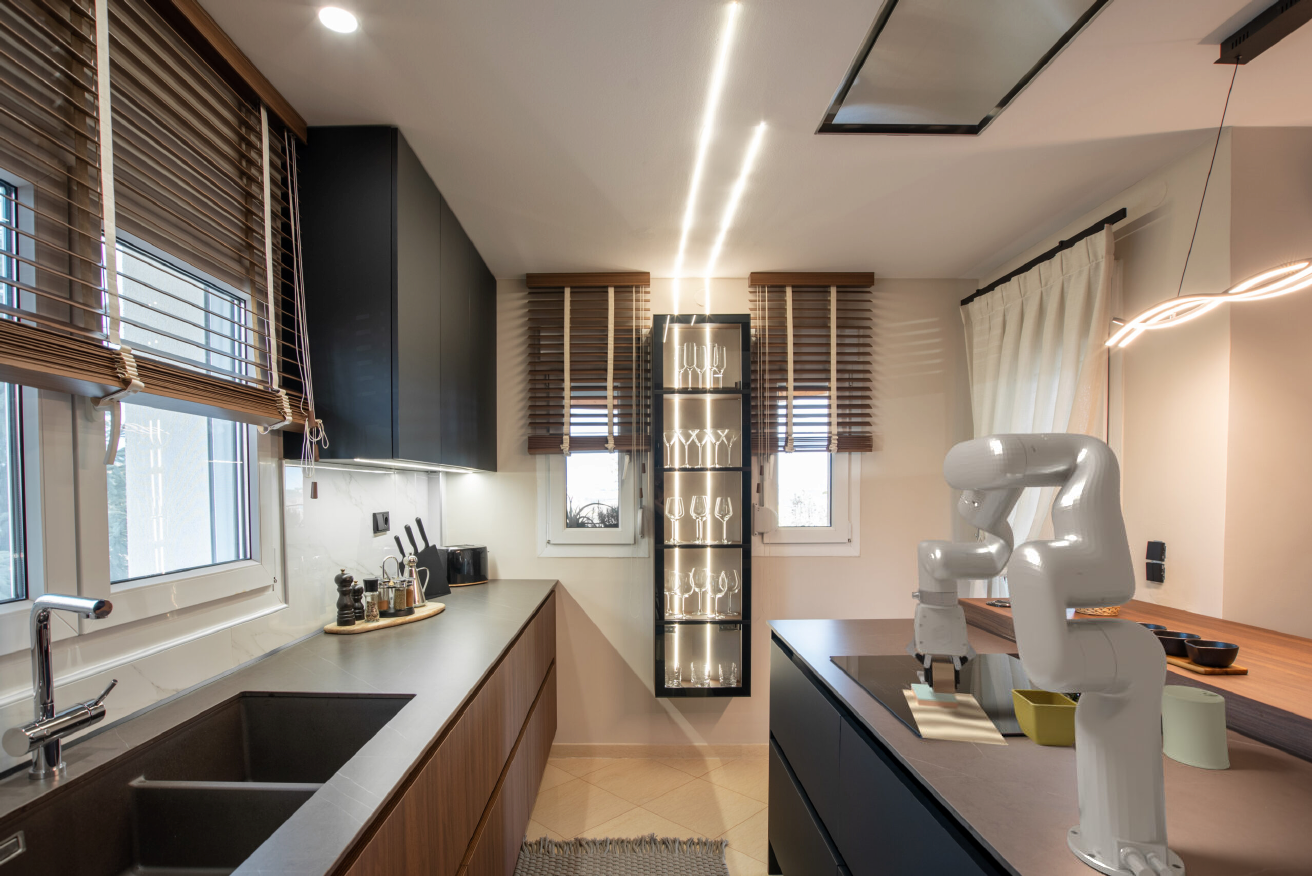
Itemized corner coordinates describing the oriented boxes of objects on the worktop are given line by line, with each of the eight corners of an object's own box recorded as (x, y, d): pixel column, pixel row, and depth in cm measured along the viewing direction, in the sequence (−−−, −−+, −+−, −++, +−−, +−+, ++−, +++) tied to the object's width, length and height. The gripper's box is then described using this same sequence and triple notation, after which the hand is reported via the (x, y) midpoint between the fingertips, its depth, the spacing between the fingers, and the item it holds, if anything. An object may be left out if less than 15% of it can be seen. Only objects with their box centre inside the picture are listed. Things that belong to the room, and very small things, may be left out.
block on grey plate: (963, 694, 126) (961, 664, 127) (926, 692, 128) (925, 662, 129) (950, 676, 138) (949, 649, 139) (917, 674, 140) (916, 647, 140)
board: (1009, 751, 115) (1008, 745, 115) (922, 743, 118) (922, 737, 119) (971, 699, 142) (971, 694, 142) (902, 694, 146) (902, 689, 146)
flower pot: (1059, 736, 122) (1056, 689, 122) (1085, 756, 113) (1082, 705, 113) (1012, 734, 122) (1010, 688, 123) (1034, 754, 114) (1032, 704, 114)
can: (1243, 772, 106) (1238, 701, 107) (1182, 767, 108) (1178, 697, 109) (1207, 749, 115) (1203, 683, 116) (1151, 745, 117) (1147, 681, 118)
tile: (957, 701, 134) (947, 686, 143) (918, 698, 136) (911, 683, 145) (957, 708, 133) (948, 692, 143) (918, 705, 135) (911, 690, 145)
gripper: (899, 600, 130) (902, 689, 128) (986, 603, 125) (990, 695, 124) (894, 594, 137) (897, 678, 135) (976, 596, 133) (980, 683, 131)
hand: (942, 685), depth 130 cm, fingers closed on block on grey plate, 4 cm apart
